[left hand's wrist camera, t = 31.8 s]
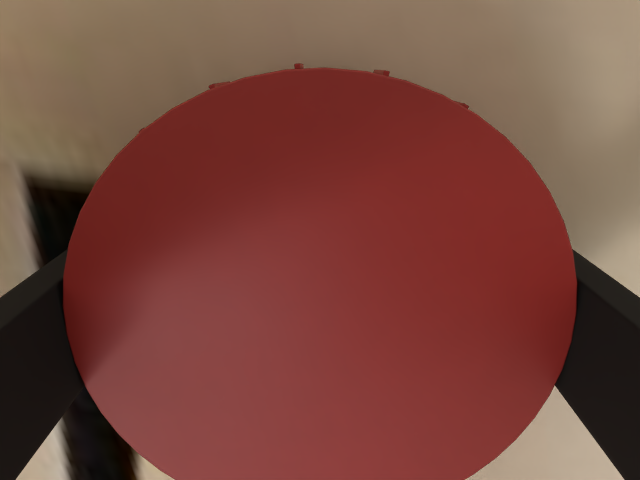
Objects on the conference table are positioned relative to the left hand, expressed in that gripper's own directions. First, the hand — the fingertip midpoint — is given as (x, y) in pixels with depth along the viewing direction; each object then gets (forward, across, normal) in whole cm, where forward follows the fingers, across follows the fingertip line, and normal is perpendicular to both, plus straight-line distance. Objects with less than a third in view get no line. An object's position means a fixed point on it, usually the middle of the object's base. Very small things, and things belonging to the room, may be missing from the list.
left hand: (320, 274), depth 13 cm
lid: (-3, 0, 0) cm, 3 cm away
